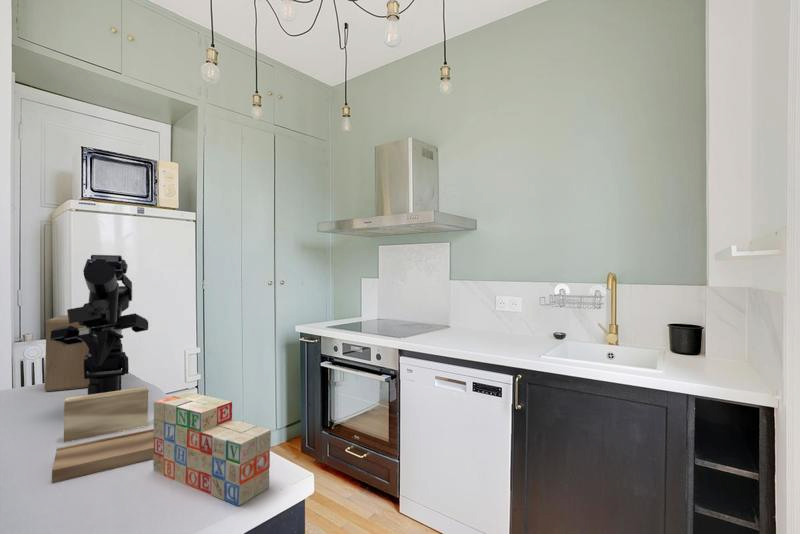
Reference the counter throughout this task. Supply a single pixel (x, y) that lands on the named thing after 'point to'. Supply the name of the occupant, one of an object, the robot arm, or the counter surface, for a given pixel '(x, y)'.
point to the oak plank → (105, 413)
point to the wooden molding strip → (102, 454)
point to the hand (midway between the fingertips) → (98, 365)
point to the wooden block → (64, 359)
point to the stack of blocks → (210, 447)
